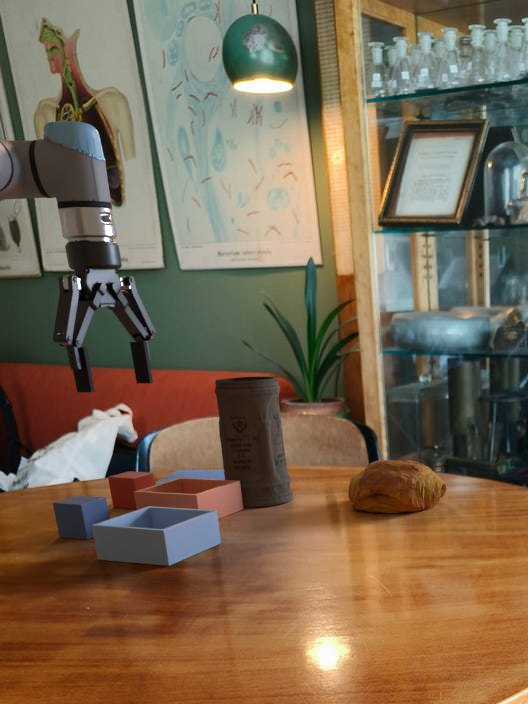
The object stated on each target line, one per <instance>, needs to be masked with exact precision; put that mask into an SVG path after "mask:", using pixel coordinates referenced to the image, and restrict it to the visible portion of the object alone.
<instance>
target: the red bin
mask: <svg viewBox="0 0 528 704" xmlns="http://www.w3.org/2000/svg"><path fill="white" fill-rule="evenodd" d="M134 495H135V501H136V507H137V509H136V510H139V509H142V508H145V507H148V506H153V507H168V508H184V509H200V510H215V511H217V516H218V520H219V519H223V518H224V517H227V516H230V515H232V514H235V513H238V512H240V511H242V510H244V507H243V502H242V493H241V485H240V481H238V480H237V481H236V480H218V479H199V478H178V479H174V480H171V481H168V482H164V483H161V484H158V485H154V486H151V487H148V488H144V489H141V490H138V491H134Z"/></svg>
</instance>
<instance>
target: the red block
mask: <svg viewBox="0 0 528 704" xmlns="http://www.w3.org/2000/svg"><path fill="white" fill-rule="evenodd" d="M107 480H108V486H109V490H110V497H111V503H112V507H113V508H115V509H116V508H117V509H130V510H131V509H133V510H137V507H136V501H135V495H134V491H138V490H141V489H144V488H148V487H151V486H154V485H155V482H156V479H155V473H154V472H150V471H124V472H121V473H118V474H114V475H110V476H108V477H107Z"/></svg>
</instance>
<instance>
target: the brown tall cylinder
mask: <svg viewBox="0 0 528 704" xmlns="http://www.w3.org/2000/svg"><path fill="white" fill-rule="evenodd" d="M280 392H281V386H280V384H279V379H278V377H276V376H239V377H227V378H217V379H216V380H215V387H214V393H215V397H216V403H217V410H218V431H219V440H220V445H221V446H220V448H221V449H220V450H221V457H222V466H223V467H222V469H223V470H224V476H225V480H236V481H237V480H238V481H240V485H241V493H242V502H243V508H263V507H264V508H265V507H271V506H277V505H283V504H286V503H288V502H290V501H292V500H293V498H294V493H293V489H292V488H291V480H292V478H291V475H290V474H289V471H288V470H289V469H288V463H287V457H286V450H285V443H284V435H283V434H284V433H283V425H282V418H281V408H280V396H279V395H280Z"/></svg>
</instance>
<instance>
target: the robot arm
mask: <svg viewBox="0 0 528 704" xmlns="http://www.w3.org/2000/svg"><path fill="white" fill-rule="evenodd" d="M106 163H107V162H106V158H105V155H104V151H103V146H102V142H101V137H100V133H99V131H98V130H97V129H96V127H95V126H93V125H92V124H90V123H86V122H82V121H73V120H56V121H49V122H46V123H45V124H44V125H43V138H41V139H40V138H39V139H32V140H8V139H3V138H1V137H0V202H2V201H6V200H25V199H26V200H27V199H42V198H43V199H54V198H55V199H56V203H57V204H56V205H57V209H58V215H59V223H60V228H61V234H62V238H64V239H65V240H67V242H66V243H65V245H64V248H65V254H66V258H67V264H68V268H69V269H71V270H72V271H74V274H70V275H69V274H68V275H59V276H58V288H59V295H58V301H57V308H56V315H55V321H54V328H53V334H52V340H53V342H54V343H55V344H58V346H60V347H61V348H65V349H66V352H67V357H68V358H67V359H68V362H69V367H70V369H71V370H72V372H73V377H74V382H75V388H76V393H95V392H96V389H95V385H94V384H95V383H94V378H93V373H92V368H91V363H90V357H89V352H88V347H87V346H82V345H83V343H84V340H85V338H86V335H87V332H88V329H89V327H90V324H91V322H92V319H93V316H94V313H95V312H96V311H97V310H98V309H99V308H107V309H108V310H110V311H112V313H113V314H114V315H115V316H116V318H117V319H118V321H119V322H120V323H121V325H122V326H123V328H124V329H125V331H126V332H127V333H128V334H129V336H130V337H131V338H132V340H133V341H129V346H130V350H131V357H132V364H133V370H134V376H135V382H136V384H154V380H153V373H152V367H151V353H150V347H149V342H153V341H154V337H156V335H157V330H156V328H155V326H154V324H153V322H152V320H151V318H150V316H149V313H148V312H147V309H146V307H145V305H144V303H143V301H142V299H141V297H140V295H139V291H138V290H137V286H136V280H135V278H134V276H132V275H121V276H120V275H119V273H118V272H119V270H121V268H122V267H123V264H122V258H121V251H120V247H119V246H120V245H119V244H118V243H117V242H114V240H115V239H117V229H116V223H115V219H114V218H115V217H114V214H113V205H112V200H111V199H112V198H111V192H110V186H109V179H108V172H107V165H106Z"/></svg>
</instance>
